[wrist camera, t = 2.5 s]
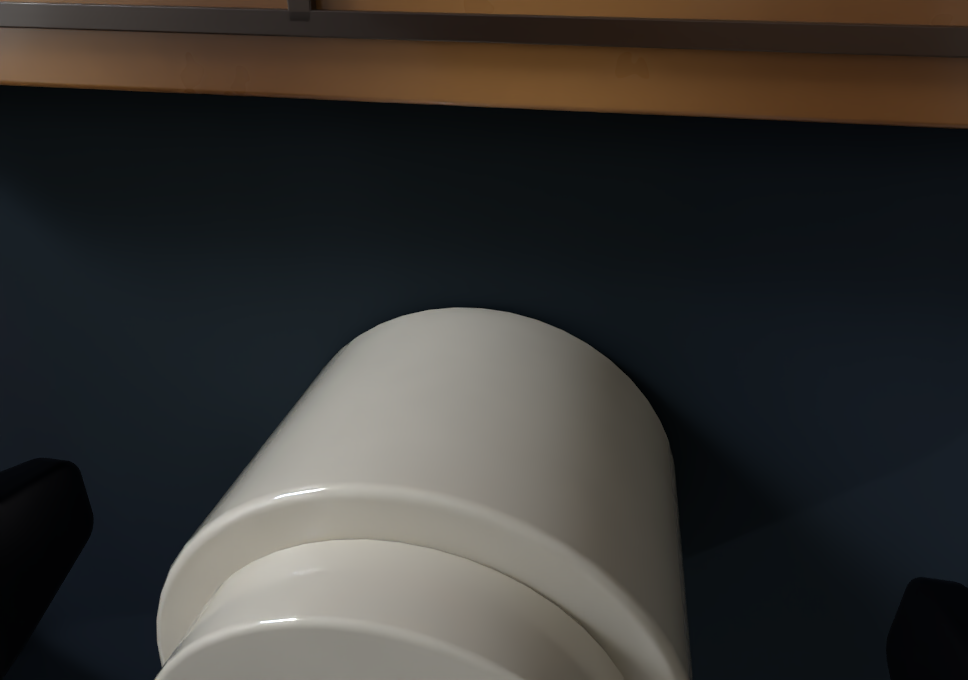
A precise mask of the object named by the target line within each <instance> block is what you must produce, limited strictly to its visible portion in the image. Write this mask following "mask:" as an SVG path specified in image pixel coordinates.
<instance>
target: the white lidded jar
mask: <svg viewBox="0 0 968 680" xmlns="http://www.w3.org/2000/svg"><path fill="white" fill-rule="evenodd" d="M157 644H158V649H159V655H160V660H161V665H162V668H161V670H160V671H159V673H158V674H157V676H156V677H155V679H154V680H693V677H692V665H691V653H690V641H689V629H688V617H687V605H686V593H685V581H684V569H683V557H682V545H681V533H680V521H679V510H678V498H677V486H676V474H675V463H674V459H673V455H672V451H671V447H670V443H669V441H668V438H667V436H666V433H665V431H664V429H663V426H662V424H661V422H660V420H659V418H658V416H657V415H656V413H655V411H654V410H653V408H652V406H651V405H650V403H649V402H648V400H647V398H646V397H645V396H644V395H643V394H642V392H641V391H640V390H639V389H638V388H637V386H636V385H635V384H634V383H633V381H632V380H631V379H630V378H629V377H628V376H627V375H626V374H625V373H624V372H622V371H621V370H620V369H619V368H618V367H617V366H616V365H615V364H614V363H613V362H612V361H611V360H609V359H608V358H607V357H605V356H604V355H603V354H601V353H600V352H598V351H597V350H596V349H594V348H593V347H591V346H590V345H589V344H587V343H586V342H584V341H582V340H580V339H578V338H576V337H575V336H573V335H571V334H569V333H567V332H566V331H564V330H562V329H559V328H557V327H554V326H552V325H549V324H547V323H544V322H542V321H539V320H537V319H533V318H529V317H526V316H522V315H518V314H515V313H511V312H505V311H499V310H492V309H485V308H460V307H455V308H444V309H434V310H426V311H421V312H417V313H413V314H408V315H404V316H401V317H398V318H395V319H393V320H390V321H387V322H385V323H382V324H379V325H378V326H376V327H374V328H372V329H370V330H368V331H367V332H365V333H363V334H361V335H359V336H358V337H357V338H355V339H354V340H353V341H351V342H350V343H349V344H347V345H346V346H345V347H344V348H342V349H341V350H340V351H339V352H338V353H337V354H336V355H335V356H334V357H333V358H332V359H331V360H330V361H329V363H328V364H327V365H326V366H325V367H324V368H323V370H322V371H321V372H320V373H319V375H318V376H317V377H316V379H315V380H314V381H313V382H312V384H311V385H310V386H309V387H308V389H307V390H306V391H305V393H304V394H303V395H302V396H301V398H300V399H299V400H298V402H297V403H296V404H295V405H294V407H293V408H292V409H291V410H290V412H289V413H288V414H287V416H286V417H285V418H284V419H283V421H282V422H281V423H280V424H279V426H278V427H277V428H276V430H275V431H274V432H273V433H272V435H271V436H270V437H269V439H268V440H267V441H266V442H265V444H264V445H263V446H262V447H261V449H260V450H259V451H258V453H257V454H256V455H255V456H254V458H253V459H252V460H251V461H250V463H249V464H248V465H247V467H246V468H245V469H244V470H243V472H242V473H241V474H240V475H239V477H238V478H237V479H236V481H235V482H234V483H233V484H232V486H231V487H230V488H229V490H228V491H227V492H226V493H225V495H224V496H223V497H222V498H221V500H220V501H219V502H218V504H217V505H216V506H215V507H214V509H213V510H212V511H211V512H210V514H209V515H208V516H207V518H206V519H205V520H204V521H203V523H202V524H201V525H200V527H199V528H198V529H197V530H196V532H195V533H194V534H193V535H192V537H191V538H190V539H189V541H188V542H187V543H186V544H185V546H184V547H183V549H182V550H181V552H180V553H179V555H178V556H177V558H176V559H175V561H174V562H173V564H172V565H171V567H170V570H169V572H168V575H167V577H166V580H165V583H164V585H163V588H162V592H161V597H160V602H159V608H158V614H157Z"/></svg>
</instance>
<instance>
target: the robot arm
mask: <svg viewBox="0 0 968 680" xmlns="http://www.w3.org/2000/svg"><path fill="white" fill-rule="evenodd" d="M93 523H94V517H93V512H92V509H91V506H90V502H89V499H88V496H87V492H86V489H85V486H84V482H83V479H82V475H81V472H80V470H79V468H78V467H77V466H76V465H75V464H74V463H72V462H70V461H65V460H58V459H50V458H36V459H33V460H30V461H27V462H25V463H22V464H19V465H17V466H14V467H12V468H9V469H7V470H4V471H1V472H0V680H2V679H3V677H4V676H5V674H6V673H7V671H8V670H9V669H10V667H11V666H12V664H13V663H14V661H15V660H16V658H17V657H18V655H19V654H20V652H21V651H22V649H23V647H24V646H25V644H26V643H27V641H28V640H29V638H30V636H31V635H32V633H33V631H34V630H35V628H36V626H37V625H38V623H39V621H40V620H41V618H42V616H43V615H44V613H45V611H46V610H47V608H48V606H49V605H50V603H51V601H52V600H53V598H54V596H55V595H56V593H57V591H58V590H59V588H60V586H61V584H62V583H63V581H64V579H65V578H66V576H67V574H68V573H69V571H70V569H71V568H72V566H73V564H74V563H75V561H76V559H77V558H78V556H79V554H80V553H81V551H82V549H83V548H84V546H85V544H86V543H87V541H88V539H89V537H90V535H91V532H92V529H93ZM886 654H887V663H888V668H889V673H890V678H891V680H968V588H967V587H965V586H964V585H962V584H960V583H957V582H953V581H946V580H939V579H931V578H924V577H918V578H915V579H913V580H911V581H910V582H909V584H908V585H907V587H906V589H905V592H904V594H903V597H902V600H901V602H900V605H899V607H898V610H897V613H896V615H895V618H894V620H893V623H892V626H891V628H890V631H889V634H888V637H887V645H886Z"/></svg>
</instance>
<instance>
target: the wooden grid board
mask: <svg viewBox="0 0 968 680" xmlns="http://www.w3.org/2000/svg"><path fill="white" fill-rule="evenodd" d="M0 85H11V86H33V87H55V88H77V89H98V90H120V91H142V92H164V93H186V94H208V95H230V96H251V97H273V98H295V99H317V100H339V101H361V102H383V103H404V104H426V105H448V106H470V107H492V108H514V109H536V110H557V111H579V112H601V113H623V114H645V115H667V116H689V117H710V118H732V119H754V120H776V121H798V122H820V123H842V124H863V125H885V126H907V127H929V128H951V129H968V0H0Z"/></svg>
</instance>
